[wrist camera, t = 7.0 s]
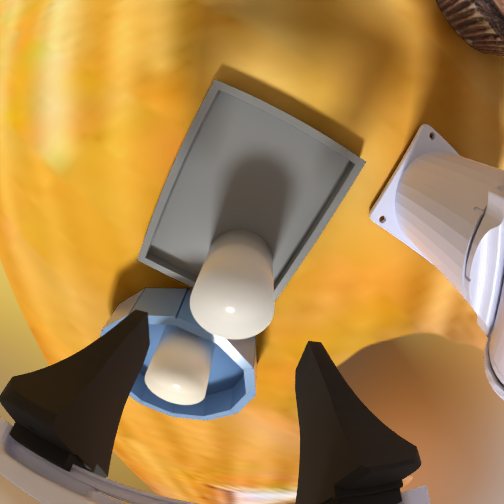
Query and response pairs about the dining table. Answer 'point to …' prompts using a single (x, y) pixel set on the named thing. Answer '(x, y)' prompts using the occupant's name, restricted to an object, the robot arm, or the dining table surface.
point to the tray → (247, 186)
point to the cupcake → (477, 22)
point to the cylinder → (235, 286)
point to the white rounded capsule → (180, 366)
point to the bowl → (223, 363)
